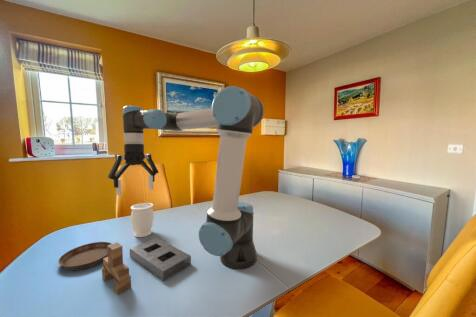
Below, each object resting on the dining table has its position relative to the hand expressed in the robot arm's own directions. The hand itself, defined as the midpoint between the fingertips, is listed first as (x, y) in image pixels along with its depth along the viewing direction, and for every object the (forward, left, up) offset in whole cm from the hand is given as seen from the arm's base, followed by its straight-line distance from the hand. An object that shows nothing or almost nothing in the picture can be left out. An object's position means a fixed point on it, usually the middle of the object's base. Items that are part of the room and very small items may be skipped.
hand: (135, 192), depth 87 cm
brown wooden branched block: (-16, +15, -26) cm, 34 cm away
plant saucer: (+8, +16, -26) cm, 32 cm away
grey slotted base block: (-16, -1, -26) cm, 30 cm away
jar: (+12, -9, -26) cm, 30 cm away
